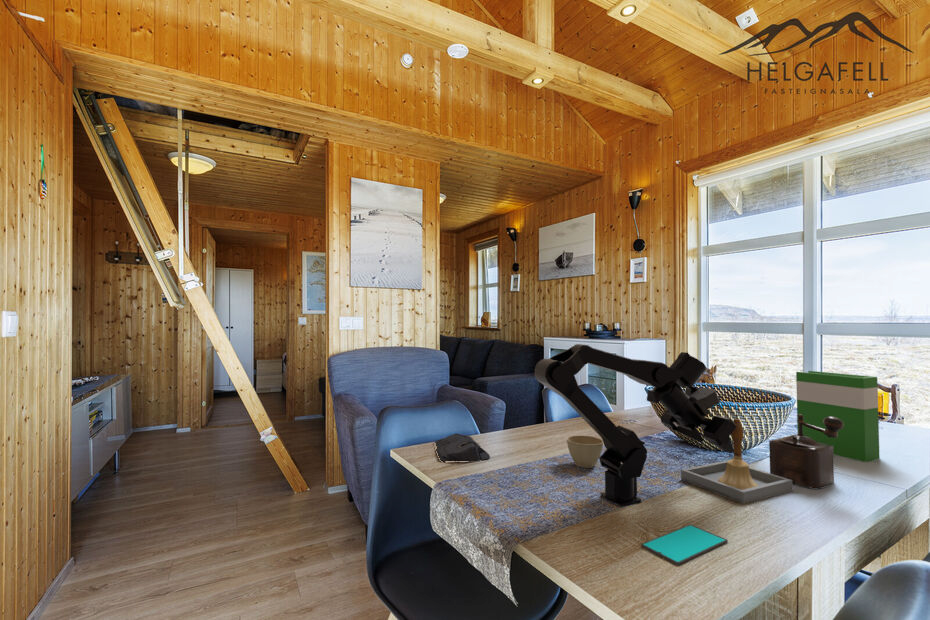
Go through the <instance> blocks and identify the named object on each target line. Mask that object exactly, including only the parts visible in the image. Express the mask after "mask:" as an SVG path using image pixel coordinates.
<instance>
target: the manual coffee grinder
mask: <svg viewBox="0 0 930 620" xmlns="http://www.w3.org/2000/svg"><path fill="white" fill-rule="evenodd" d="M803 418H804V417H803V415H801V414H799V415H798V420H796V423H797V422H798V424H799V430H798V431H797V433H796V434H791V435H789V436H788V435H787V436H784V437H780V438H776V439H772V440H769V443H768V445H769V446H768V447H769V449H768V450H769V473H771V474H774V475H777V476H780V477H784V478H787V479H790V480H792V484H793V485H797V486H801V487H806V488H810V489H813V490H818V489H823V488H826V487H829V486H831V485H832V484H834V482H835V473H834V472H835V471H834V465H835V463H834V462H835V461H834V454H833V446H832V445H828V444H824V443H819V442H816V441H815V440H814V439H812V438H810V437H807V436H804V434H803V425H804V426H806V427H808V428H811V429H814V430H817V431H820V432H823V433H824V434H825V435H827V436H828V437H829V438H830V437H833V438H837V437H838V435H837V432H838V431H839V430H841V429H843V426H844V423H843V421H842V420H840V419H839V418H837V417H833V416H829V417H826V418H824V419H823V423H824V425H825V427H826V429H825V430H824V429H822V428H819V427H816V426H813V425H810V424H807V423H805V422H804V420H803Z"/></svg>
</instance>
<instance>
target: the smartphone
mask: <svg viewBox="0 0 930 620" xmlns="http://www.w3.org/2000/svg"><path fill="white" fill-rule="evenodd" d="M726 544H728V539H727V538H724V537H722V536H720V535H717V534H715V533H712V532H710V531H708V530H705V529H702V528H700V527H698V526H696V525H694V524H688V525H685V526H682V527H679V528H678V529H675V530H673V531H670V532H667V533H665V534H663V535H660V536H657V537H655V538H652V539H650V540H648V541H645V542H643V543H641V547H642V549H645V550H647V551H649V552H650V553H652V554H654V555H656V556H658V557H660V558H663V559H664V560H665V561H668V562H669V563H672V564H674V566H677V567H678V566H682V565H683V564H686V563H688V562H691V561H692V560H694V559H696V558H699V557H701V556H702V555H704V554H707V553H709V552H712V551H714V550H716V549H718V548H719V547H722V546H725V545H726Z"/></svg>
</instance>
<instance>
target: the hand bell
mask: <svg viewBox="0 0 930 620" xmlns="http://www.w3.org/2000/svg"><path fill="white" fill-rule="evenodd" d="M733 422H734V423H735V424H736V426H737V427H736V429H735V430H734V431H733V432H732V434H731V435H730V436H731V437H730V438H731V440H732V445H733V449H734V451H733V458H731V459H729V460H726V461H727V467H726V471H725V473H724V475H723V476H722V477H720V478H719V480H718V482H721V483H724V484H726V485H729V486H732V487H735V488H738V489H740V490H744V489H748V488H752V487H756V486H758V485H757V484H756V483H755V482H754V481H753V479H752V478H751V475H750V471H749V467H750V466H749V464H748V463H747V462H746V461H744V460H743V456H742V455H743V454H742V442H743V441H744V429H743V425H742V422H741V420H740V418H734V419H733Z"/></svg>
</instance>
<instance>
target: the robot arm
mask: <svg viewBox="0 0 930 620" xmlns="http://www.w3.org/2000/svg"><path fill="white" fill-rule="evenodd" d="M587 364H588V365H590V366H591V365H592V366H595V367H598V368H603V369H606V370H610V371H612V372H617V373H620V374H622V375H625V376H626V377H627V378H629V379H631V380H632V381H633V382H637V383H639V384H641V385H645V386H650V387H652V388H653V387H654V388H653V389H651V390H647V396H646V401H647V402H649V403H654V404H659V403H661V404H662V405H663V406H664V408H665V409H666V410H665V411H664V413H662V415H661V416H660V422H661V424H663V426H664V427H666V428H668V429H670V430H672V431H674V432H677V433H679V434H681V435H683V436H685V437H688V438H690V439H692V440H694V441H696V442H698V443H702V442H703V441H704V439H705V440H707V441H708V443H709V444H711V445H713V446H715V447H717V448H720V449H721V450H723V451H725V452H727V453H729V454H733V453H734V445H733V442H732V441H731V440H732V439H731V437H730V436H731V434H732V432H733V431H734V430H735V429H736V427H737V426H736V424H735V423H734V422H733V421H734V419H732V418H729V417H726V416H722V415H714V416H713V417H712V418H711V419H710V418H706V417H707V416H708V415H709V414H710V411H709V409H711V408H712V407H714V406H716V405H719V404H720V403H721V401H720V398H719V396H718V394H717V391H716V390H715V389H712V388H707V387H696V386H694V385H695V384H696V383H697V382H698V381H699V379H700V378H701V376H703V374H704V373H705V372H706V370H707V366H706V364H705V363H704V362H703V361H701V360H700V359H699V358H697V357H694V356H692V355H691V354H689V352H685V351H684V352H683V351H682V352H680V353H679V354H678V355H677V358H676V359H675V360H674V361H673V363H671V365H670V366H668V365H667V364H665V363H663V362H660V361H652V360H646V359H645V360H644V359H635V358H629V357H627V356H626V357H625V356H622V355H620V354H616V353H612V352H609V351H605V350H603V349H600V348H596V347H592V346H591V345H589V344H582V343H581V344H580V343H577V344H574V345H573V346H571V347H569V348H568V349H566V350H563V351H562V352H559V353H557V354H554V355H552V356H551V357H549V358H542V359H541V360H539V361H538V362H537V363H536V365H535V368H534V378H535V379H536V380H537V382H538V383H541V384H542V385H543V386H544V387H546V388H547V389H549V390H550V391H551V392H554V393H555V394H557V395H558V396H560V397H561V398H562V399H563V400H564V401H566V402H567V404H569V406H571V408H572V409H573V410H574V411H575V412H576V413H577V414H578V415H579V416H580V417H581V418H582V419H583V420H584V421H585V423H586V424H588V425H589V426H590V427H591V428H592V430H594V431H595V432H596V433H597V435H599V436H600V439H602V440H603V447H605V450H604V452H603V453H601V455H600V457H599V459H598V461H599V463H600V466H601V467H603V468H605V469H607V470H605V471H604V492H601V493H600V497H602V498H604V499H606V500H608V501H610V502H612V503H613V504H615V505H618V506H619V507H622V506H628V505H632V504H637V503H640V502H642V498H641V497H638V478H641V476H642V473H643V469H644V467H645V463H646V461H647V457H648V450H647V448H646V447H645V444H646V442H645V441H642V440H641V439H640V438H639V436H638V435H637V433H636V432H635V431H633V430H631V429H629V428H626V427H624V426H622V425H616V424H615V423H614V422H613V421H612V420H611V419H610V418H609V417H608V416H607V414H605V413H604V411H602V409H601V408H600V407H599V406H598V405H597V404H595V402H594V401H593V400H592V399H591V398H590V397H589V396H588V395H587V394H586V393H585V392H584V391H583V390H582V388H580V386H579V385H578V381H577V378H576V375H577V374H578V373H579V372H580V371H581V370H582V369H583V368H584V367H585V366H586V365H587ZM683 389H685V391H684V390H683ZM698 428H702V429H703V430H702V435H701V432H699V430H698Z"/></svg>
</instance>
